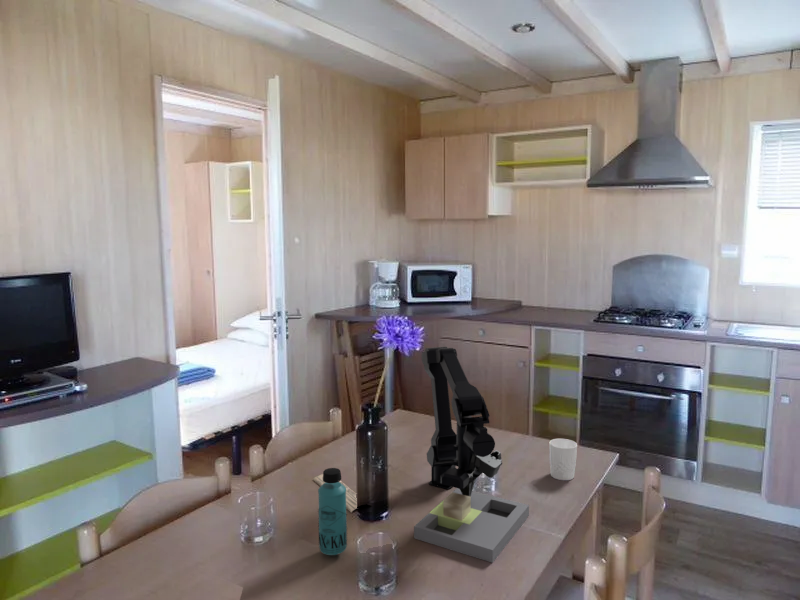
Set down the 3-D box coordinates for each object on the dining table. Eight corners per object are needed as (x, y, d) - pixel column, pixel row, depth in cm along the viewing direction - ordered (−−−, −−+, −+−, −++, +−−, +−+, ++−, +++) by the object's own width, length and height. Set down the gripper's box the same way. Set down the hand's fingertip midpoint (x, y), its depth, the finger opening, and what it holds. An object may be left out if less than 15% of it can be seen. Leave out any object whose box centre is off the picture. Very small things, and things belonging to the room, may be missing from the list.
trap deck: (414, 538, 140) (413, 526, 140) (457, 497, 161) (457, 487, 160) (492, 562, 130) (492, 550, 130) (528, 516, 150) (529, 504, 150)
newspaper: (313, 482, 172) (313, 476, 172) (335, 476, 176) (335, 470, 176) (351, 515, 153) (351, 509, 153) (375, 508, 157) (375, 501, 156)
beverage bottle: (319, 546, 137) (317, 464, 134) (348, 545, 137) (346, 463, 135) (318, 562, 130) (315, 477, 128) (348, 561, 131) (346, 475, 128)
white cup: (577, 482, 169) (578, 449, 168) (549, 480, 171) (549, 447, 169) (574, 471, 177) (575, 439, 175) (547, 469, 178) (548, 437, 177)
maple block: (443, 515, 145) (443, 500, 144) (452, 507, 149) (452, 492, 149) (461, 520, 142) (462, 505, 142) (470, 511, 147) (470, 496, 146)
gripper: (481, 461, 137) (481, 523, 139) (511, 435, 153) (510, 492, 155) (439, 451, 143) (439, 511, 145) (472, 427, 159) (471, 482, 161)
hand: (467, 499), depth 151 cm, fingers closed
